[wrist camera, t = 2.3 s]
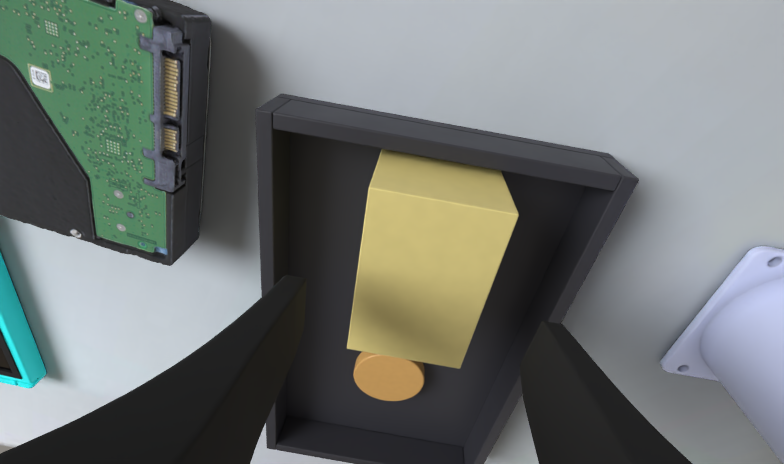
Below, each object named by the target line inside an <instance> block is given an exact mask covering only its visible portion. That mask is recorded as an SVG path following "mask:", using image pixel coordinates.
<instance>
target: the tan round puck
mask: <svg viewBox="0 0 784 464" xmlns="http://www.w3.org/2000/svg"><path fill="white" fill-rule="evenodd" d="M353 375H354V380H355V382H356V384H357V386H358V387H359V388H360V389H361V390H362V391H363V392H364V393H366V394H367V395H369V396H371V397H374V398H376V399H380V400H385V401H401V400H406V399H409V398H411V397H413V396H415V395H416V394H417V393H419V391H420V390H421V389H422V387H423V385H424V376H425V369H424V365H423V362H419V361H413V360H408V359H402V358H396V357H391V356H385V355H380V354H374V353H369V352H363V351H362V352H361V353H360V355H359V356H358V357H357V359H356V363H355V367H354V374H353Z"/></svg>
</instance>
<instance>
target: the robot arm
mask: <svg viewBox="0 0 784 464" xmlns="http://www.w3.org/2000/svg"><path fill="white" fill-rule="evenodd" d="M771 259H772V260H771ZM770 260H771V261H770ZM306 280H307V278H301V277H296V276H290V275H286V276H284V277H283V278H282V279H281V280H280V281H279V282H278V283H276V284H275V285H274V286H273V287H272V288H271V289H270V290H269V291H268V292H267V293H266V294H265V295H264V296H263V297H262V298H261V299H259V300H258V301H257V302H256V303H255V304H254V305H253V306H252V307H250V308H249V309H248V310H247V311H246V312H245V313H244V314H242V315H241V316H240V317H239V318H238V319H237V320H235V321H234V322H233V323H232V324H230V325H229V326H228V327H227V328H225V329H224V330H223V331H221V332H220V333H219V334H218V335H216V336H215V337H214V338H212V339H211V340H210V341H209V342H207V343H206V344H204V345H203V346H202V347H200V348H199V349H197V350H196V351H195V352H193V353H192V354H190V355H189V356H187V357H186V358H184V359H183V360H181V361H180V362H178V363H177V364H175V365H174V366H172V367H171V368H169V369H167V370H166V371H164V372H162V373H161V374H159V375H158V376H156V377H154V378H153V379H151V380H149V381H148V382H146V383H144V384H143V385H141V386H139V387H137V388H136V389H134V390H132V391H130V392H129V393H127V394H125V395H123V396H121V397H119V398H117V399H115V400H114V401H112V402H110V403H108V404H106V405H104V406H102V407H100V408H98V409H96V410H94V411H92V412H91V413H89V414H87V415H85V416H83V417H81V418H79V419H77V420H75V421H73V422H70V423H68V424H66V425H64V426H62V427H60V428H57V429H55V430H53V431H51V432H48V433H46V434H44V435H42V436H40V437H37V438H35V439H33V440H31V441H28V442H26V443H24V444H22V445H19V446H17V447H15V448H12V449H10V450H8V451H5V452H3V453H1V454H0V464H250V462H251V459H252V456H253V453H254V450H255V447H256V445H257V442H258V439H259V437H260V434H261V432H262V430H263V427H264V425H265V423H266V420H267V418H268V416H269V414H270V412H271V409H272V407H273V405H274V403H275V400H276V398H277V396H278V394H279V392H280V389H281V387H282V385H283V383H284V380H285V378H286V376H287V374H288V371H289V369H290V367H291V365H292V362H293V360H294V358H295V355H296V352H297V349H298V345H299V342H300V339H301V336H302V333H303V329H304V323H305V301H306ZM660 365H661V367H662V368H663V370H664V371H666V372H670V373H675V374H681V375H686V376H692V377H697V378H703V379H708V380H714V381H720V383H721V384H722V385H723V387H724V388H725V389H726V390H727V392H728V393H729V394H730V396H731V397H732V398H733V400H734V401H735V402H736V404H737V405H738V406H739V408H740V409H741V410H742V411H743V413H744V414H745V415H746V417H747V418H748V419H749V421H750V422H751V423H752V425H753V426H754V427H755V428H756V430H757V431H758V432H759V434H760V435H761V436H762V438H763V439H764V440H765V442H766V443H767V444H768V446H769V447H770V448H771V449H772V451H773V452H774V453H775V455H776V456H777V457H778V459H779V460H780V461H781V463H782V464H784V249H778V248H773V247H767V246H759V247H755V248H753V249H751V250H749V251H748V252H747V253H746V254H745V256H744V257H743V258H742V259H741V261H740V262H739V263H738V264H737V266H736V267H735V268H734V269H733V271H732V272H731V273H730V274H729V276H728V277H727V278H726V279H725V281H724V282H723V283H722V284H721V286H720V287H719V288H718V289H717V291H716V292H715V293H714V294H713V296H712V297H711V298H710V299H709V301H708V302H707V303H706V304H705V306H704V307H703V308H702V309H701V311H700V312H699V313H698V314H697V316H696V317H695V318H694V319H693V321H692V322H691V323H690V324H689V326H688V327H687V328H686V329H685V331H684V332H683V333H682V334H681V336H680V337H679V338H678V339H677V341H676V342H675V343H674V344H673V346H672V347H671V348H670V349H669V351H668V352H667V353H666V354H665V356H664V357H663V358H662V359H661V361H660ZM520 376H521V385H522V393H523V399H524V404H525V408H526V412H527V416H528V421H529V425H530V429H531V433H532V437H533V441H534V445H535V449H536V453H537V457H538V461H539V464H692V463H691V462H690V461H689V460H688V459H687V458H686V457H685V456H684V455H682V454H681V453H680V452H679V451H678V450H677V449H676V448H675V447H674V446H673V445H672V444H671V443H670V442H669V441H668V440H667V439H665V438H664V437H663V436H662V435H661V434H660V433H659V432H658V431H657V430H656V429H655V428H654V427H653V426H652V425H651V424H650V423H649V422H648V421H647V420H646V418H645V417H644V416H643V415H642V414H641V413H640V412H639V411H638V410H637V409H636V408H635V407H634V406H633V405H632V404H631V403H630V402H629V401H628V399H627V398H626V397H625V396H624V395H623V394H622V393H621V392H620V391H619V390H618V388H617V387H616V386H615V385H614V384H613V383H612V382H611V380H610V379H609V378H608V377H607V376H606V375H605V374H604V372H603V371H602V370H601V369H600V368H599V367H598V365H597V364H596V363H595V362H594V361H593V359H592V358H591V357H590V356H589V355H588V354H587V352H586V351H585V350H584V349H583V348H582V346H581V345H580V344H579V343H578V342H577V341H576V339H575V338H574V337H573V336H572V335H571V334H570V332H569V331H568V330H567V329H566V328H565V327H564V326H563V325H562V324H559V323H553V322H548V321H542V322H541V324H540V326H539V328H538V330H537V332H536V334H535V336H534V338H533V339H532V341H531V343H530V345H529V347H528V349H527V351H526V353H525V355H524V357H523V359H522V361H521V363H520Z"/></svg>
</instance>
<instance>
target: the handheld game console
mask: <svg viewBox="0 0 784 464" xmlns="http://www.w3.org/2000/svg"><path fill="white" fill-rule="evenodd" d="M46 374H47V372H46V369H45V367H44V364H43V361H42V359H41V356H40V354H39V351H38V348H37V346H36V343H35V341H34V338H33V335H32V333H31V330H30V328H29V325H28V322H27V320H26V317H25V315H24V312H23V309H22V307H21V304H20V302H19V299H18V296H17V294H16V291H15V289H14V286H13V283H12V281H11V278H10V276H9V273H8V270H7V268H6V265H5V263H4V260H3V257H2V255H1V252H0V382H2V383H7V384H11V385H16V386H17V385H18V386H20V387H25V388H32V387H34V386H35V385H36V384H37V383H38V382H39V381H40V380H41V379H42V378H43V377H44V376H45V375H46Z"/></svg>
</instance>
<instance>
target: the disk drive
mask: <svg viewBox="0 0 784 464" xmlns="http://www.w3.org/2000/svg"><path fill="white" fill-rule="evenodd" d="M210 31H211V20H210V18H209V17H208V16H207V15H206V14H204V13H202V12H198V11H196V10H193V9H191V8H189V7H187V6H183V5H181V4H179V3H176V2H173V1H170V0H0V215H3V216H5V217H7V218H10V219H14V220H18V221H21V222H23V223H28V224H32V225H34V226H37V227H40V228H42V229H47V230H51V231H55V232H57V233H59V234H62V235H66V236H73V237H76V238H78V239H81V240H84V241H88V242H92V243H94V244H96V245H99V246H101V247H105V248H108V249H111V250H114V251H118V252H120V253H125V254H132V255H137V256H139V257H141V258H144V259H147V260H150V261H153V262H157V263H162V264H163V265H169V266H171V265H172V264H173V263H174V262H175V261H176V260H177V259H178V258H179V257H180V256H181V255H182V254H184V253H185V252H186V251H187V250H188V249H189V248H190V246H191V245H192V244H193V243H194V242H195V241H196V240H197V239H198V238H199V232H198V231H199V223H200V216H201V207H202V188H203V176H204V156H205V141H206V122H207V107H208V91H209V71H210V55H211V39H210Z"/></svg>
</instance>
